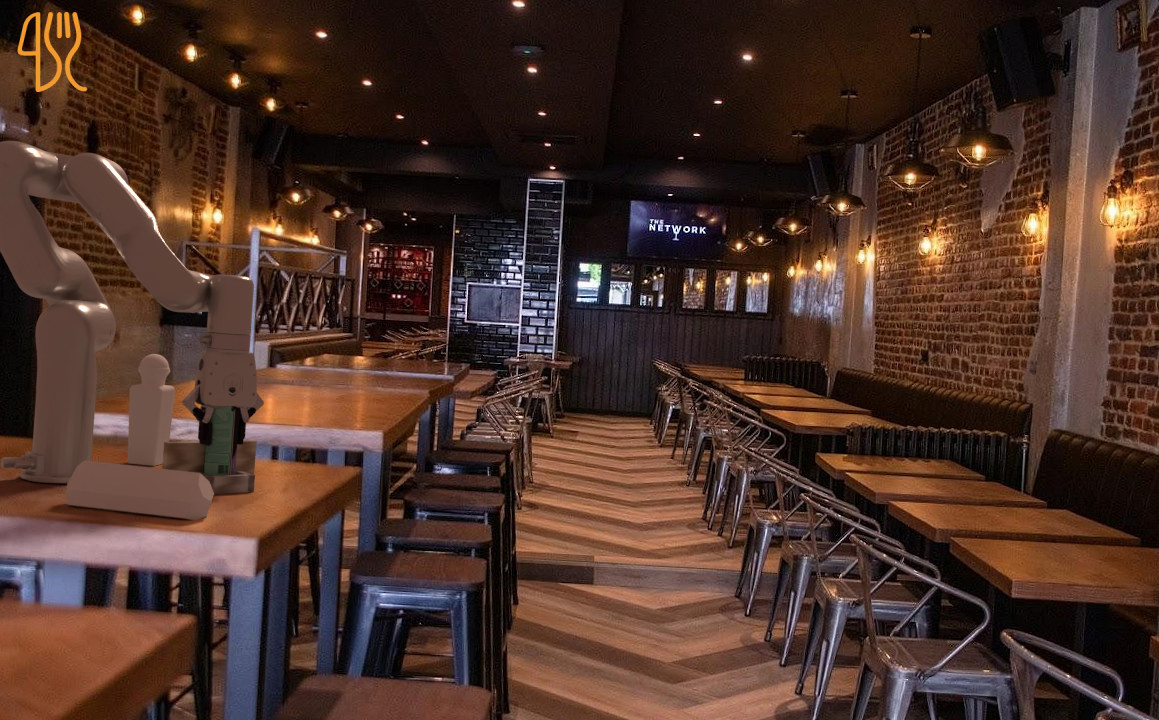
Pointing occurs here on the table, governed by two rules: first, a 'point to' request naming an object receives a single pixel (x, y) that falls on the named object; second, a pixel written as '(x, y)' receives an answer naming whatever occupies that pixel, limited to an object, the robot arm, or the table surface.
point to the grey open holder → (192, 460)
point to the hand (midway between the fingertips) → (221, 443)
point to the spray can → (223, 441)
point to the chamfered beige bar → (139, 490)
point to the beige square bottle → (150, 412)
